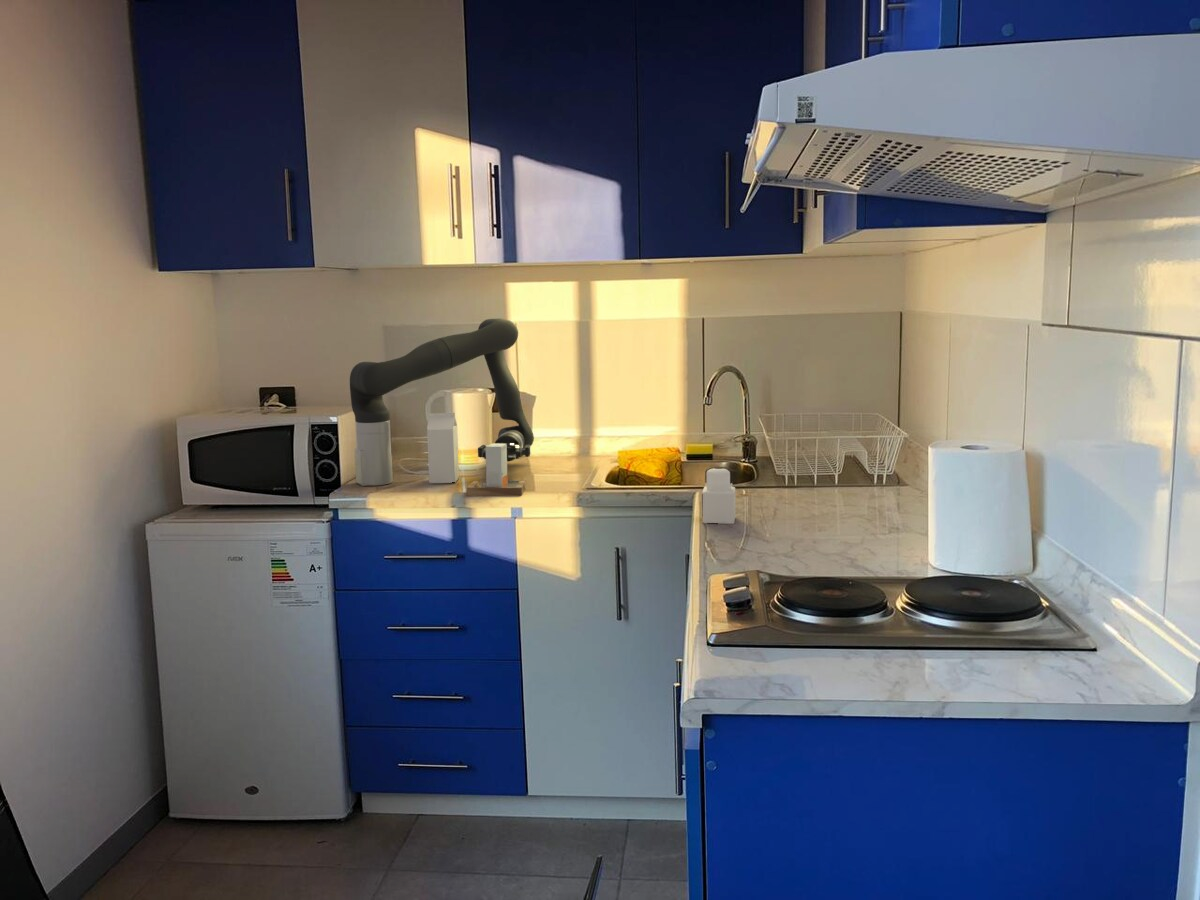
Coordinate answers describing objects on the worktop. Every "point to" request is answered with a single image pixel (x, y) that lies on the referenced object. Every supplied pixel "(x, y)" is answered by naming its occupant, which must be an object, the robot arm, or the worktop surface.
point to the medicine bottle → (718, 496)
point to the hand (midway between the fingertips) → (501, 455)
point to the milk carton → (442, 448)
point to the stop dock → (497, 489)
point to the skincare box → (496, 465)
